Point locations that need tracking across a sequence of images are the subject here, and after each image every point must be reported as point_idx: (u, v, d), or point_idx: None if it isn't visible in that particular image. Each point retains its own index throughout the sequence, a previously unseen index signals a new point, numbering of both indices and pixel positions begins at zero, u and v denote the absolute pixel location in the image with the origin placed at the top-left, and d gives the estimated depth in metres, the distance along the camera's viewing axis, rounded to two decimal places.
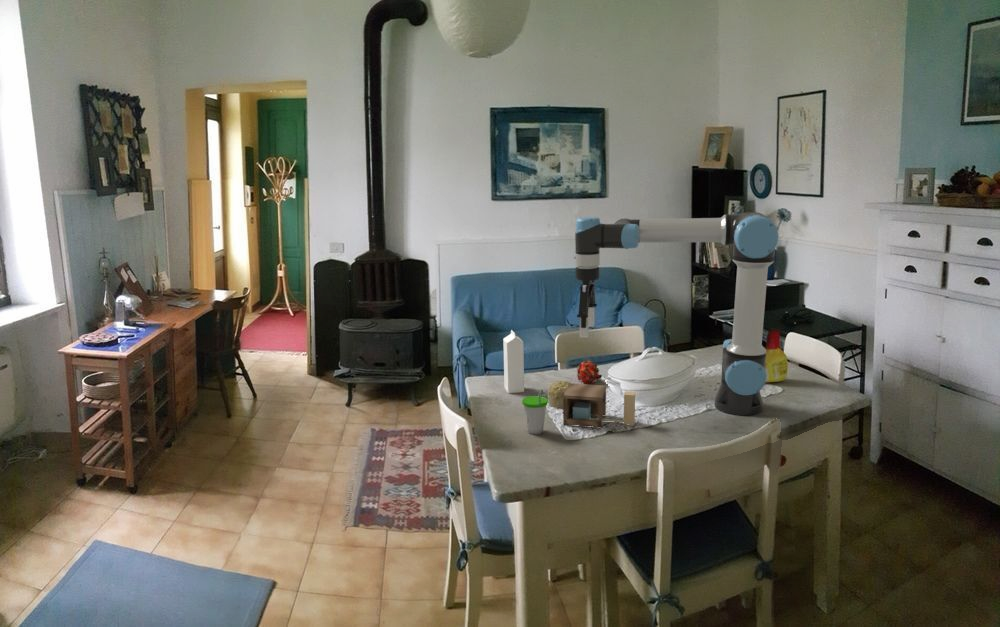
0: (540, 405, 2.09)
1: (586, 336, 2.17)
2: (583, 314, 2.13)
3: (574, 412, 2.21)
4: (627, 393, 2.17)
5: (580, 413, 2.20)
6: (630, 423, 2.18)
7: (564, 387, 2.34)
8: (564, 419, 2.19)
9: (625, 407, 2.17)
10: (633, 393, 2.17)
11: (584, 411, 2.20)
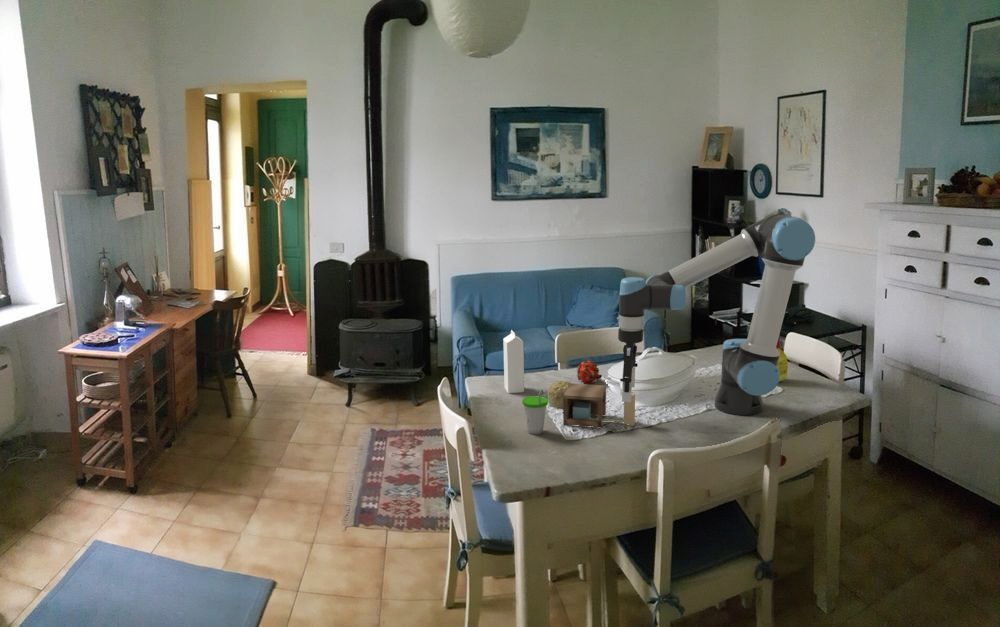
0: (540, 405, 2.09)
1: (629, 400, 2.10)
2: (627, 379, 2.06)
3: (574, 412, 2.21)
4: None
5: (580, 413, 2.20)
6: (630, 423, 2.18)
7: (564, 387, 2.34)
8: (564, 419, 2.19)
9: (625, 407, 2.17)
10: (633, 393, 2.17)
11: (584, 411, 2.20)
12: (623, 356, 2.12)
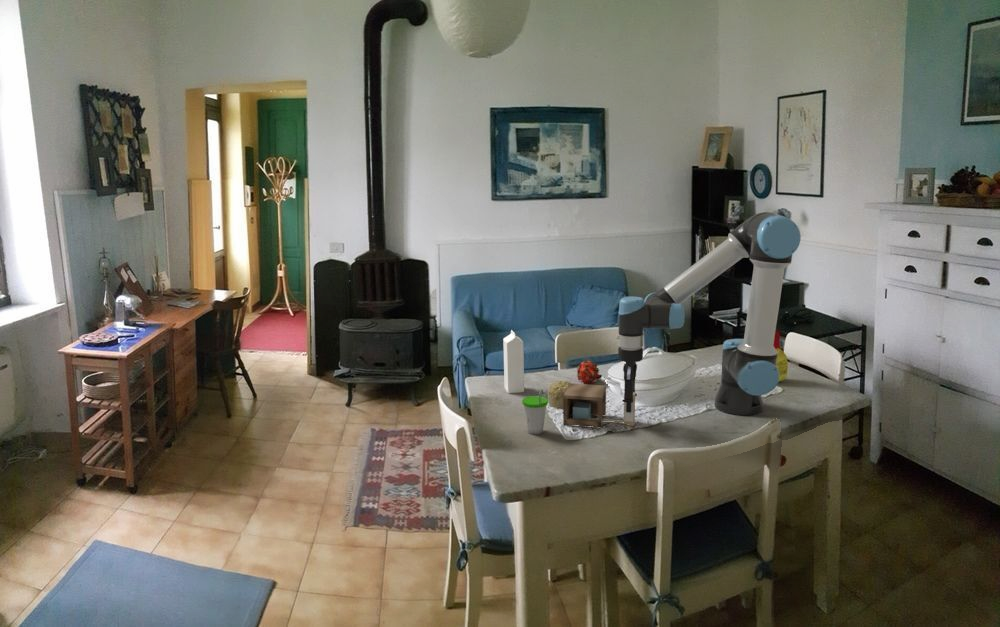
0: (540, 405, 2.09)
1: (631, 420, 2.17)
2: (629, 400, 2.13)
3: (574, 412, 2.21)
4: None
5: (580, 413, 2.20)
6: (630, 423, 2.18)
7: (564, 387, 2.34)
8: (564, 419, 2.19)
9: None
10: (633, 393, 2.17)
11: (584, 411, 2.20)
12: (624, 376, 2.14)
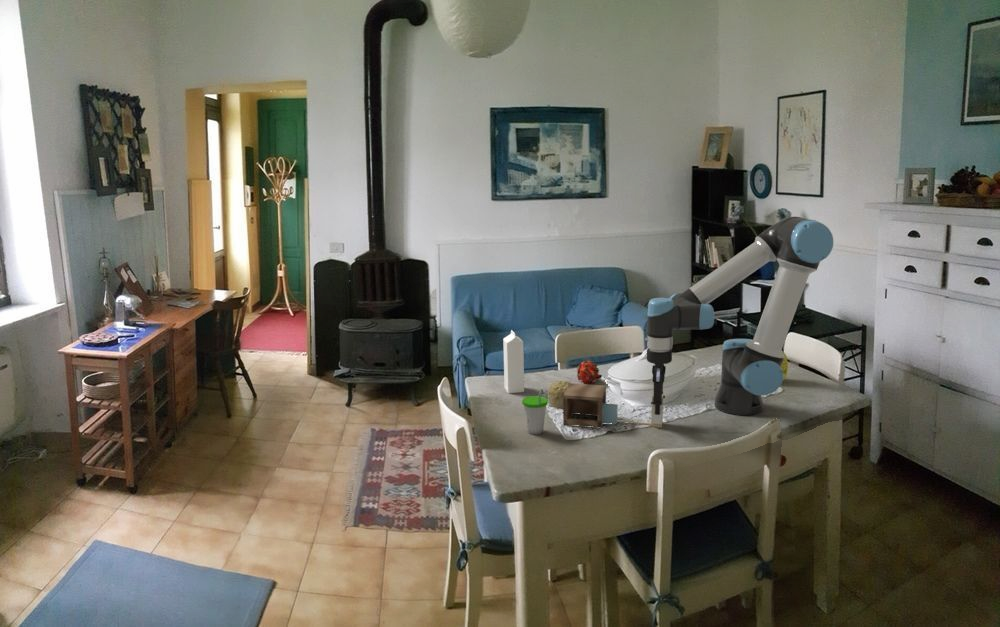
0: (540, 405, 2.09)
1: (660, 422, 2.15)
2: (658, 402, 2.10)
3: None
4: None
5: (607, 415, 2.18)
6: (658, 425, 2.16)
7: (564, 387, 2.34)
8: (564, 419, 2.19)
9: None
10: None
11: (611, 413, 2.18)
12: None
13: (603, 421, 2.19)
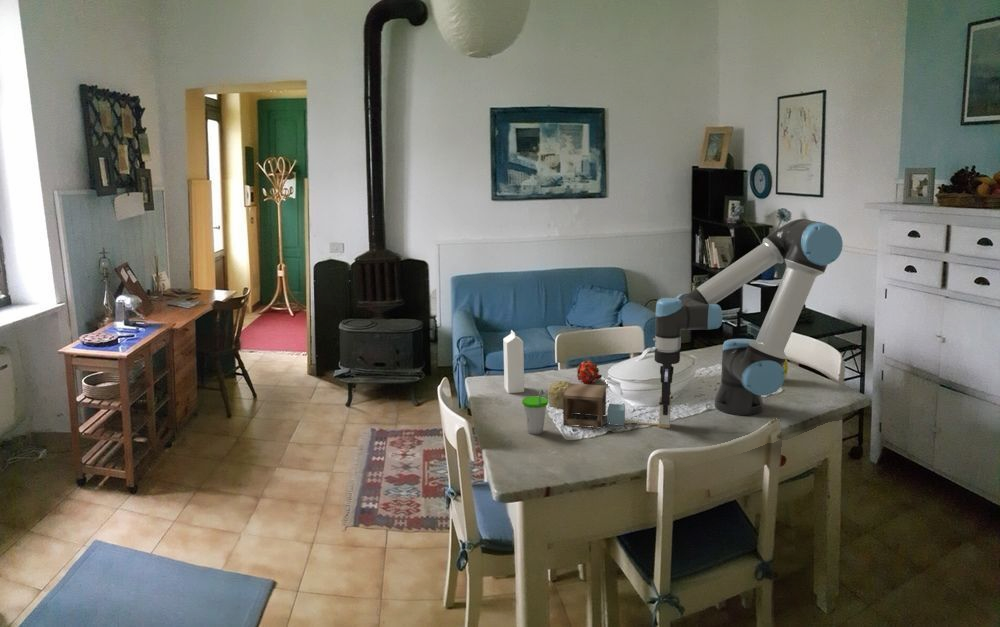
0: (540, 405, 2.09)
1: (667, 423, 2.14)
2: (666, 402, 2.10)
3: (609, 414, 2.18)
4: None
5: (615, 415, 2.18)
6: (666, 426, 2.15)
7: (564, 387, 2.34)
8: (564, 419, 2.19)
9: None
10: None
11: (619, 413, 2.17)
12: None
13: (611, 422, 2.18)
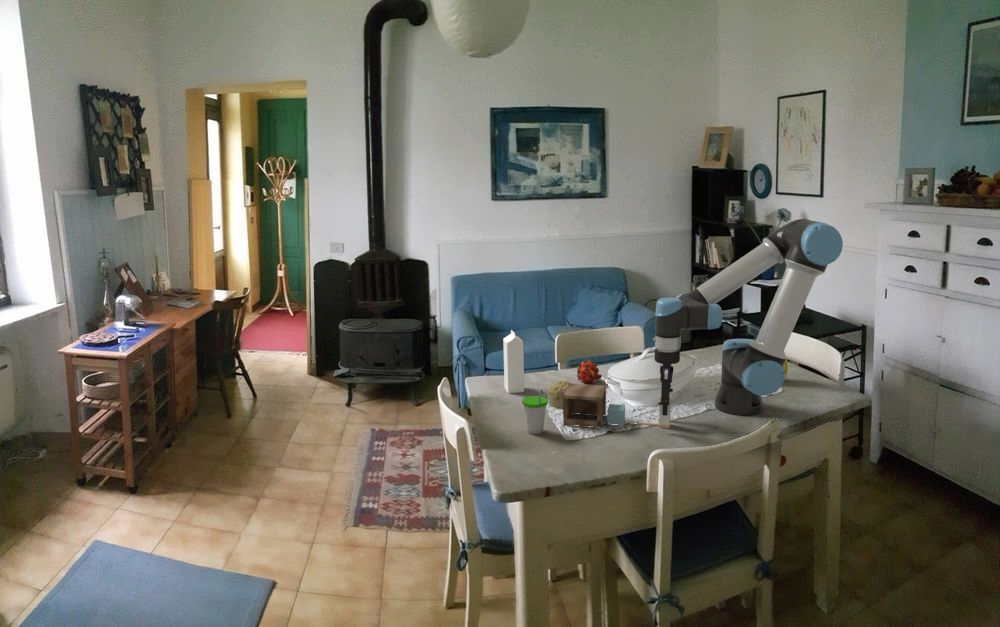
0: (540, 405, 2.09)
1: (667, 423, 2.11)
2: (666, 402, 2.06)
3: (609, 415, 2.18)
4: None
5: (615, 416, 2.18)
6: (666, 426, 2.15)
7: (564, 387, 2.34)
8: (564, 419, 2.19)
9: None
10: None
11: (619, 413, 2.17)
12: (660, 378, 2.11)
13: (611, 422, 2.18)
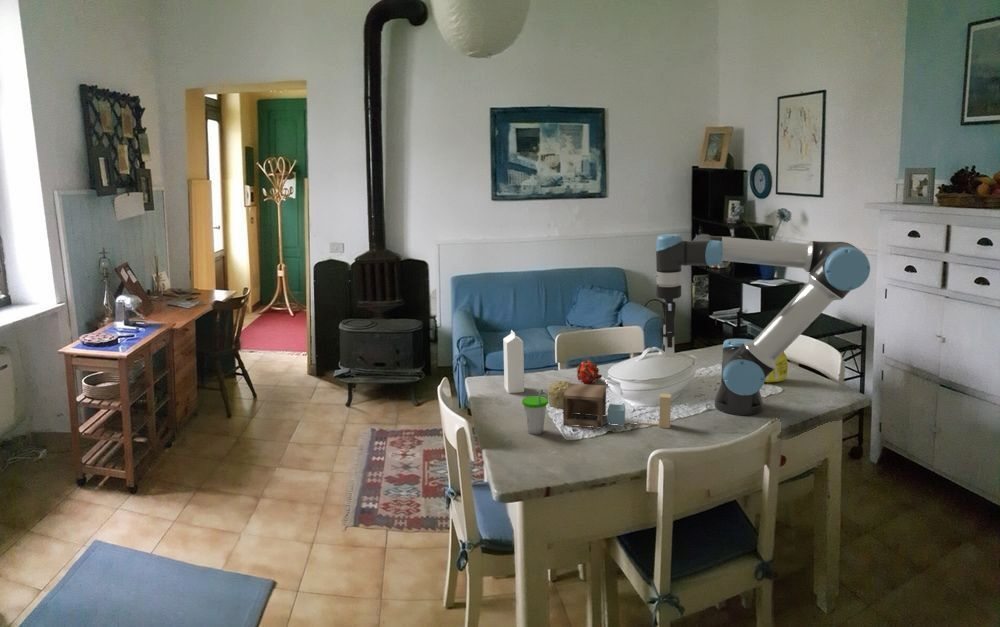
0: (540, 405, 2.09)
1: (672, 356, 2.12)
2: (671, 333, 2.08)
3: (609, 415, 2.18)
4: (663, 395, 2.14)
5: (615, 416, 2.18)
6: (666, 426, 2.15)
7: (564, 387, 2.34)
8: (564, 419, 2.19)
9: (661, 410, 2.14)
10: (669, 395, 2.14)
11: (619, 413, 2.17)
12: (663, 312, 2.13)
13: (611, 422, 2.18)
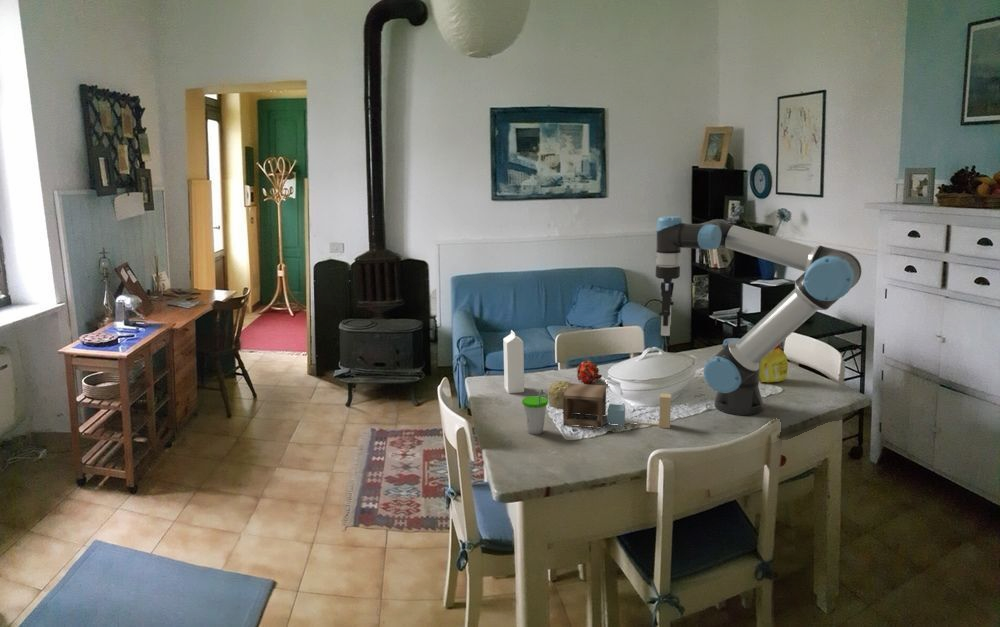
0: (540, 405, 2.09)
1: (667, 334, 2.19)
2: (666, 312, 2.15)
3: (609, 415, 2.18)
4: (663, 395, 2.14)
5: (615, 416, 2.18)
6: (666, 426, 2.15)
7: (564, 387, 2.34)
8: (564, 419, 2.19)
9: (661, 410, 2.14)
10: (669, 395, 2.14)
11: (619, 413, 2.17)
12: (661, 292, 2.20)
13: (611, 422, 2.18)
